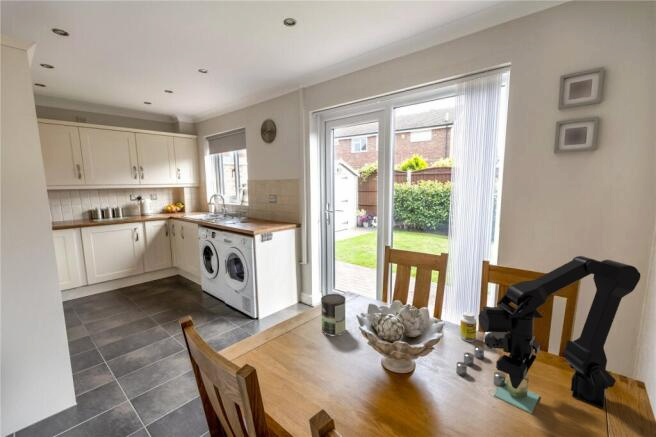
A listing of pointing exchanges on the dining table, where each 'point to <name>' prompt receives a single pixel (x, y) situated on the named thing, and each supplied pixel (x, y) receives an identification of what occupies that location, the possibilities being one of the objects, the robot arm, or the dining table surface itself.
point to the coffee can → (333, 314)
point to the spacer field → (469, 361)
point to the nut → (521, 390)
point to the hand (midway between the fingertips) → (517, 383)
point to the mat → (518, 399)
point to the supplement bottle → (468, 327)
